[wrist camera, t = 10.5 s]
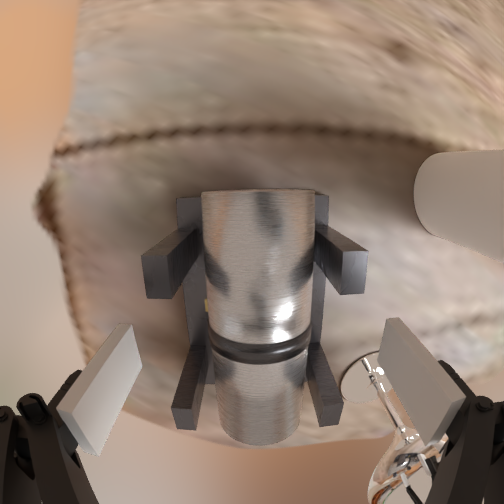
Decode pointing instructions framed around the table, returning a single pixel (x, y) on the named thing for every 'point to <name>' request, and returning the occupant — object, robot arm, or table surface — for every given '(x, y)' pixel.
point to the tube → (259, 306)
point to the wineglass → (403, 446)
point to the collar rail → (195, 296)
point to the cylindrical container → (464, 199)
